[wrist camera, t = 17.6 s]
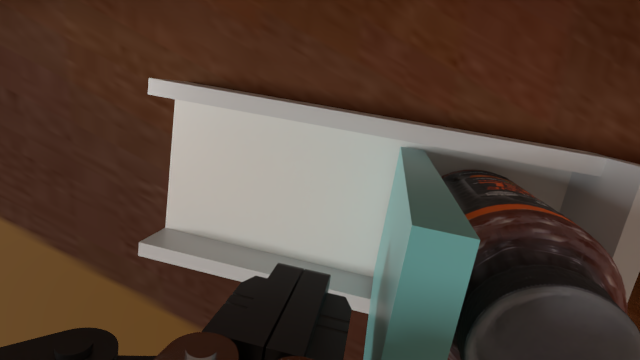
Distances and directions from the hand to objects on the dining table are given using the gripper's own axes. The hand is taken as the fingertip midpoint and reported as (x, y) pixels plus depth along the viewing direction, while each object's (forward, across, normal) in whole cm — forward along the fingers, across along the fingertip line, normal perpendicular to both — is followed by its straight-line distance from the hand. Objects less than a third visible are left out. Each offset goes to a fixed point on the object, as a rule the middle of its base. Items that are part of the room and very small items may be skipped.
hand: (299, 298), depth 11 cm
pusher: (+10, -3, 0) cm, 11 cm away
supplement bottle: (+11, -6, 0) cm, 13 cm away
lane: (+12, -1, 0) cm, 12 cm away
